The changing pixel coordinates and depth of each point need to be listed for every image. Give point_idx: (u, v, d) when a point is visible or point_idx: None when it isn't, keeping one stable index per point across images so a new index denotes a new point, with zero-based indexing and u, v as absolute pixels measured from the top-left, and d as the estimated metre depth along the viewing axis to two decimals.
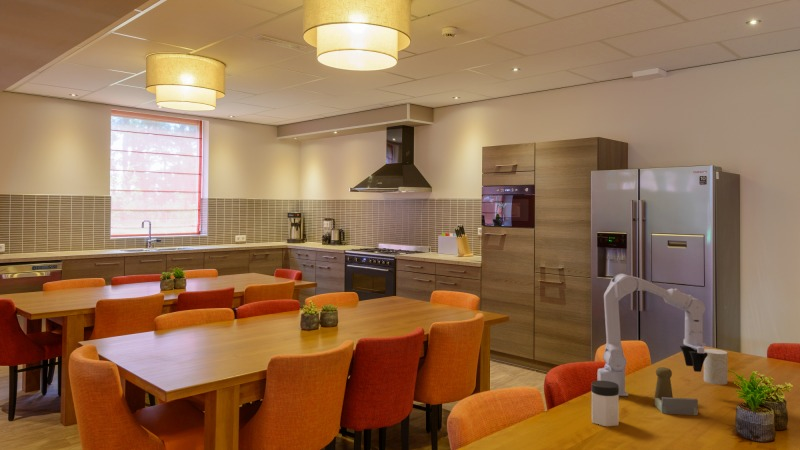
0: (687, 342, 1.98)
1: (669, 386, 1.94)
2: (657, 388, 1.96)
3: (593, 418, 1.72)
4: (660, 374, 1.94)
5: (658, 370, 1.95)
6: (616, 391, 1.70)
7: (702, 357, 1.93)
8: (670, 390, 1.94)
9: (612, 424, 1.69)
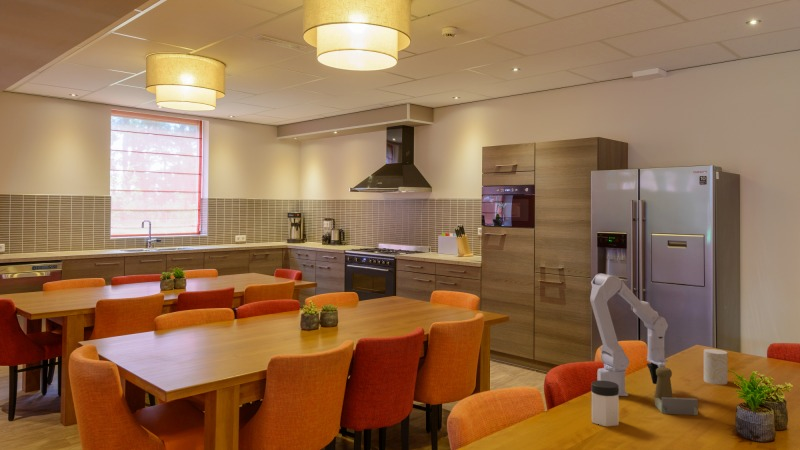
0: (650, 358, 2.04)
1: (669, 386, 1.94)
2: (657, 388, 1.96)
3: (593, 418, 1.72)
4: (660, 374, 1.94)
5: (658, 370, 1.95)
6: (616, 391, 1.70)
7: None
8: (670, 390, 1.94)
9: (612, 424, 1.69)
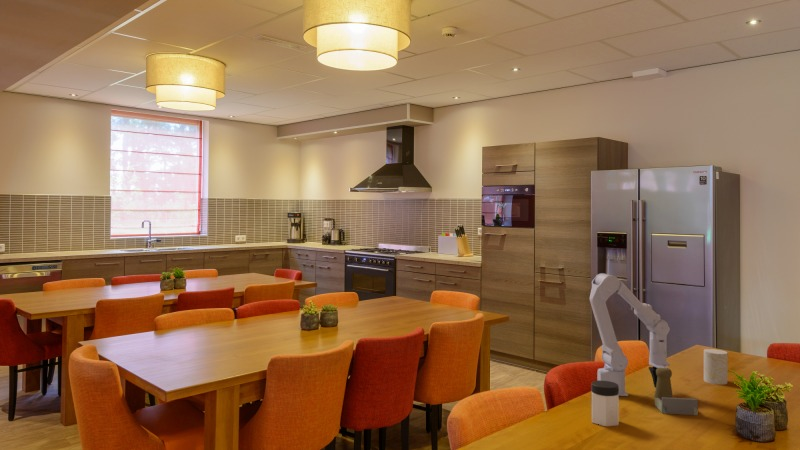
0: (651, 362, 2.02)
1: (669, 386, 1.94)
2: (657, 388, 1.96)
3: (593, 418, 1.72)
4: (660, 374, 1.94)
5: (658, 370, 1.95)
6: (616, 391, 1.70)
7: None
8: (670, 390, 1.94)
9: (612, 424, 1.69)
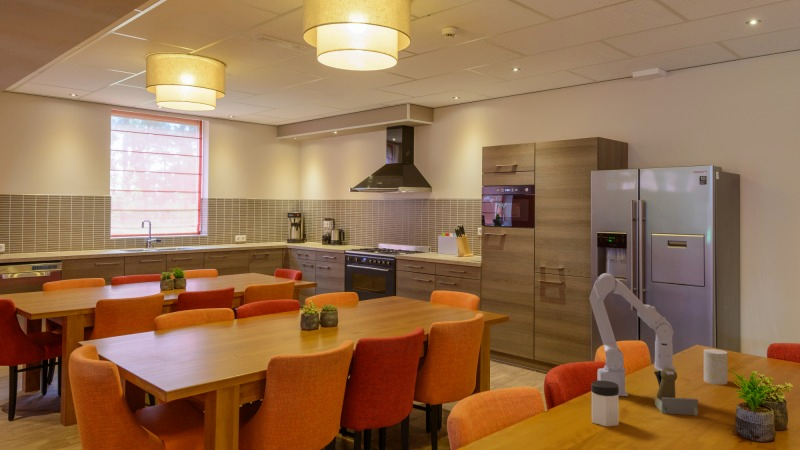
0: (657, 366, 1.95)
1: (673, 389, 1.90)
2: (660, 389, 1.93)
3: (593, 418, 1.72)
4: (665, 377, 1.90)
5: (663, 373, 1.91)
6: (616, 391, 1.70)
7: None
8: (673, 392, 1.91)
9: (612, 424, 1.69)
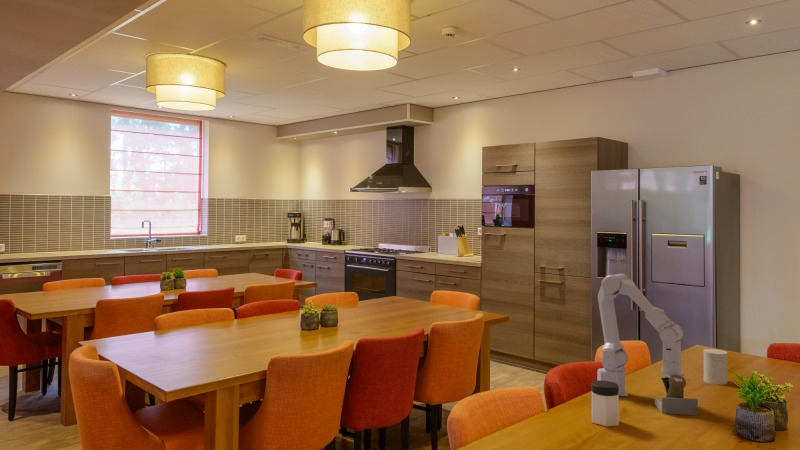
0: (665, 372, 1.87)
1: (681, 396, 1.82)
2: (668, 396, 1.84)
3: (593, 418, 1.72)
4: (673, 385, 1.82)
5: (671, 380, 1.82)
6: (616, 391, 1.70)
7: None
8: None
9: (612, 424, 1.69)
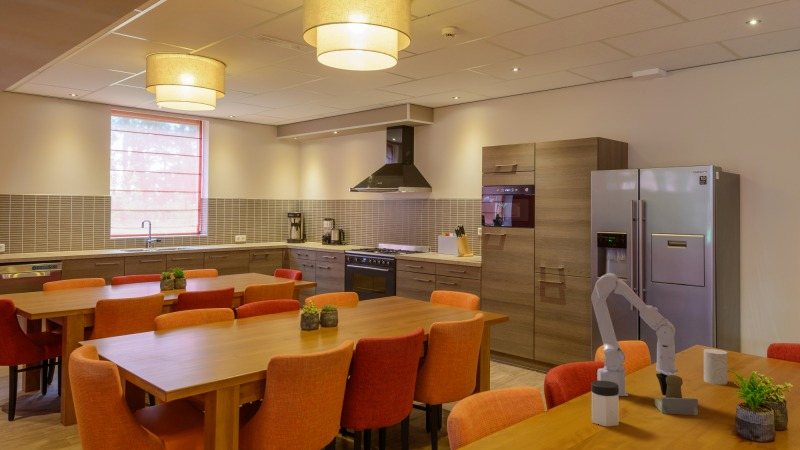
0: (659, 368, 1.93)
1: (679, 395, 1.84)
2: None
3: (593, 418, 1.72)
4: (670, 382, 1.84)
5: (668, 378, 1.85)
6: (616, 391, 1.70)
7: None
8: None
9: (612, 424, 1.69)
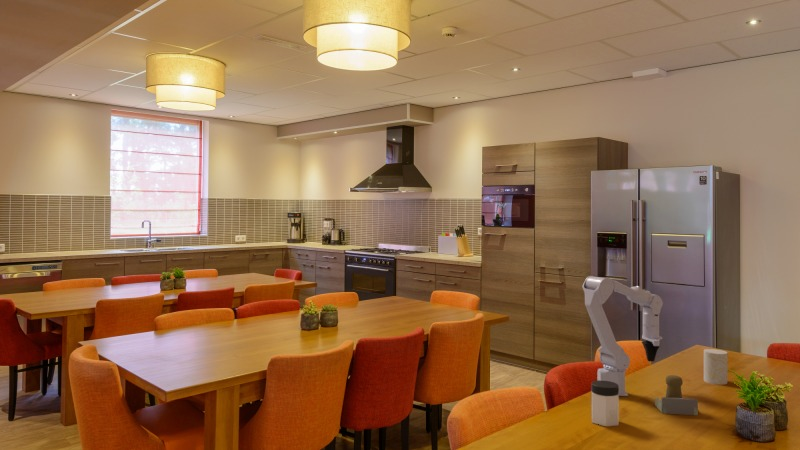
0: (644, 336, 2.07)
1: (679, 395, 1.84)
2: None
3: (593, 418, 1.72)
4: (670, 382, 1.84)
5: (668, 378, 1.85)
6: (616, 391, 1.70)
7: (655, 348, 2.06)
8: None
9: (612, 424, 1.69)
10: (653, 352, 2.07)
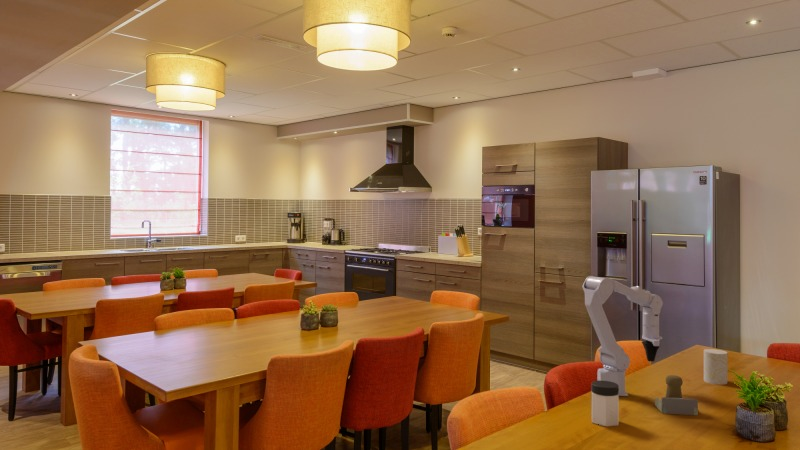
0: (644, 336, 2.07)
1: (679, 395, 1.84)
2: None
3: (593, 418, 1.72)
4: (669, 382, 1.84)
5: (668, 378, 1.85)
6: (616, 391, 1.70)
7: (655, 348, 2.06)
8: None
9: (612, 424, 1.69)
10: (653, 352, 2.07)
